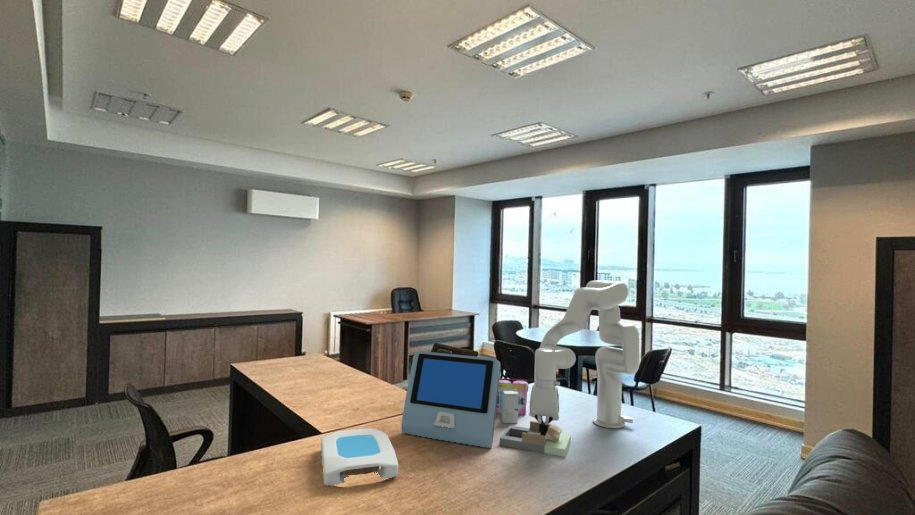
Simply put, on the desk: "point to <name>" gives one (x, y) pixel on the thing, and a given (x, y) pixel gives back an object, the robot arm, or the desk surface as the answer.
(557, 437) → the birch block
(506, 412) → the skincare box
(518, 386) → the gum box
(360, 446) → the white step stool
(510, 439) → the board
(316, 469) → the desk surface
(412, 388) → the touchscreen device
